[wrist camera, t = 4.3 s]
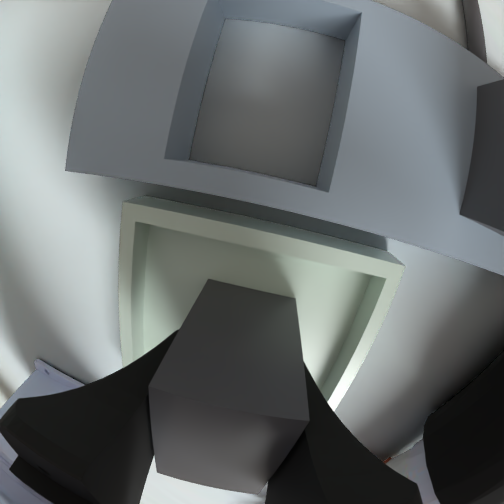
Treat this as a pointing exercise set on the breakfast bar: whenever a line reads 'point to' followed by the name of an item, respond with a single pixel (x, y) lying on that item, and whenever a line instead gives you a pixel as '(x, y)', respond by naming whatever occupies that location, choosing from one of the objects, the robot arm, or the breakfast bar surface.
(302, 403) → the plug
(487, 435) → the black white cylindrical piece
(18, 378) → the breakfast bar surface
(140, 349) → the tray
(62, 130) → the breakfast bar surface
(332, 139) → the power strip
